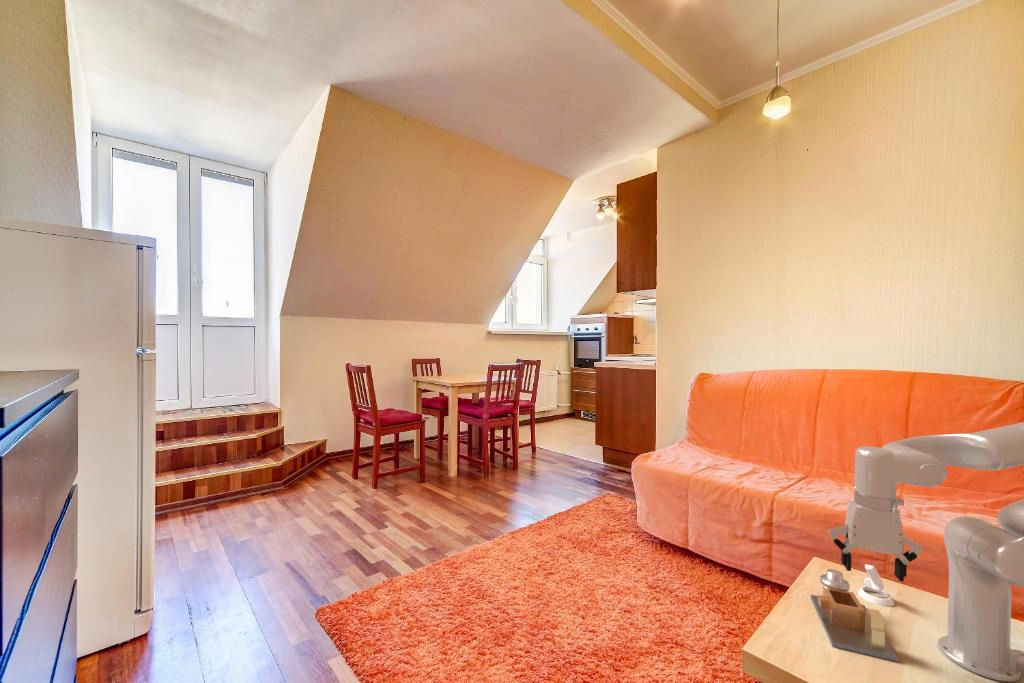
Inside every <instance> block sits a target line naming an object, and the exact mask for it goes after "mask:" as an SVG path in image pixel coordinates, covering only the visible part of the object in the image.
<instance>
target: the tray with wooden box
mask: <svg viewBox="0 0 1024 683" xmlns="http://www.w3.org/2000/svg"><path fill="white" fill-rule="evenodd" d="M819 582H820V583H821V584H822V585H823V586H822V594H821V595H819V594H818V595H815V594H810V600H811V602H812V603H811V604H813V607H814V610H815V611H816V613H817V616H818V618H819V619H820V623H821V626H822V627H823V628H824V631H825V633H826V635H827V638H828V640H829V642H830V644H831V647H833V648H836V649H841V650H845V651H846V650H847V651H849V652H854V653H858V654H860V655H861V654H862V655H867V656H870V657H874V658H879V659H883V660H887V661H891V662H895V663H898V656H897V654H896V652H895V651H894V650H893V648H892V645H890V643H889V642H888V640H887V639H886V637H885V650H882V649H878V648H874V647H871V645H870V643H869V642H868V640H867V638H866V637H865V619H866V608H867V607H866V606H865V605H864V604H862V603H861V602H860V601H859V600H858V597H857V596H856V594H855V593H854V592H853V591H850V590H851V588H850V587H851V586H850V585H851V584H850V582H848V581H847V580H846V579H844V574H843V572H841V571H839V570H836V569H833V568H829V569H826V573H824V574H823V573H822V574H821V575H820V576H819Z"/></svg>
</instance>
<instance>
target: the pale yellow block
mask: <svg viewBox="0 0 1024 683" xmlns="http://www.w3.org/2000/svg"><path fill="white" fill-rule="evenodd" d="M865 637H866V638H867V640H868V642H869V643H870V645H871V647H874V648H878V649H882V650H885V638H886V632H885V617H884V616H883V614H882V613H881V612H880V610H877V609H872V608H869V607H866V619H865Z"/></svg>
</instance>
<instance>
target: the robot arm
mask: <svg viewBox="0 0 1024 683" xmlns="http://www.w3.org/2000/svg"><path fill="white" fill-rule="evenodd" d="M854 455H855V456H854V490H853V495H854V496H853V500H849V503H848V505H847V510H846V514H845V522H844V525H841V526H837V527H834V528H829V529H828V530H827V532H828V534H829V536H830V537H831V539H832V541H833V543H834V545H836V546H837V548H839V549H840V550H841V553H840V554H841V558H840V562H841V565H843V566H844V567H845V570H846V571H848V572H851V571H852V554H851V552H852V551H853V550H855V549H856V548H857V549H859V550H860V549H862V550H867V551H872V552H876V553H883V554H889V555H895V556H896V557H895V559H894V571H893V572H894V576H895V577H896V578H897V580H898V581H899V582H902V583H904V580H905V578H906V577H907V573H908V572H907V570H908V568H907V566H909V565H910V563H911V562H912V561H914V560H916V559H917V558H918V555H920V554H921V552H922V551H923V550H924V548H923V546H922V545H921V544H919V543H918V542H916V541H914V540H912V539H910V538H909V537H907V536H905V535H904V531H903V530H904V529H903V523H902V522H903V521H902V517H901V512H900V511H899V509H898V507H899V506H903V507H904V506H905V500H904V499H900V498H898V497H897V490H898V489H897V488H898V487H897V485H898V484H897V483H901V484H908V485H912V486H917V487H922V488H923V487H924V488H929V487H930V488H931V487H937V486H940V485H942V484H943V483H945V481H946V479H947V477H948V469H947V466H948V467H949V466H950V467H959V468H965V469H971V470H977V471H978V470H981V471H1001V470H1006V469H1007V470H1008V469H1012V468H1016V467H1021V466H1024V421H1023V422H1019V423H1018V422H1017V423H1013V424H1010V425H1004V426H999V427H995V428H989V429H985V430H981V431H975V432H967V433H964V432H963V433H961V432H960V433H951V434H950V433H948V434H931V435H929V434H928V435H921V436H913V437H908V438H904V439H900V440H895V441H891V442H887V443H886V444H884V445H883V446H881V447H878V446H869V445H868V446H865V445H864V446H860V447H857V448H856V450H855V454H854ZM996 518H997V523H998V525H1000V527H999V526H997V525H995V524H992V523H990V522H988V521H986V520H983V519H980V518H977V517H974V516H957V517H955V518H952V519H951V520H949V522H947V524H946V525H945V527H944V531H943V541H944V545H945V550H946V555H947V559H948V560H947V561H948V596H947V597H948V598H947V599H948V600H947V601H948V605H947V609H948V610H947V635H944V636H941V637H939V638H938V640H937V646H938V649H939V650H940V651H941V653H942V654H943V655H945V657H947V658H948V659H949V660H951V661H952V662H953V663H954V664H956V665H959V666H960V667H962V668H964V669H966V670H968V671H970V672H972V673H974V674H977V675H979V676H982V677H985V678H988V679H991V680H996V681H1000V682H1017V681H1019V680H1020V679H1021V678H1022V677H1021V676H1022V672H1021V669H1020V667H1023V666H1024V650H1020V649H1016V648H1014V649H1013V648H1011V636H1012V635H1011V634H1012V633H1011V631H1012V629H1011V628H1012V627H1011V626H1012V625H1011V624H1012V598H1013V597H1012V587H1011V586H1012V585H1013V586H1016V587H1019V588H1024V497H1023V498H1021V499H1018V500H1016V501H1013V502H1010V503H1009V504H1006V505H1005V506H1003V507H1002V508H1000V510H999V511H998V513H997V517H996ZM840 535H844V537H845V540H844V541H841V540H840V539H839V537H838V536H840ZM904 544H906V545H907V546H909V547H910V549H909V550H907V551H906V552H904V550H905V549H904V547H905V546H904Z"/></svg>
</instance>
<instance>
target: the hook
mask: <svg viewBox="0 0 1024 683" xmlns="http://www.w3.org/2000/svg"><path fill="white" fill-rule="evenodd" d="M864 568H865V571H866V573H867V574H868V576H869V577H865V578H864V579H863V582H864V585H863V586H862V587H861V588H859V590H858V592H857V593H858V595H859V597H861V598H862V599H863V600H865V601H867V602H869V603H871V604H874V605H876V606H881V607H893V606H894V605H895V601H894V599H893V596H892V595H891V594H890V593H888V592H887V591H886V590H884V589H885V586H884V583H883V580H882V578H881V576H880V574H879V573H878V571H877V569H876V567H875V566H874V565H870V564H864ZM866 591H868V592H873V593H876V594H878V595H879V594H880V595H882V596H884V597H886V598H881V597H877V596H874V595H871V594H869V593H868V592H866Z"/></svg>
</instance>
